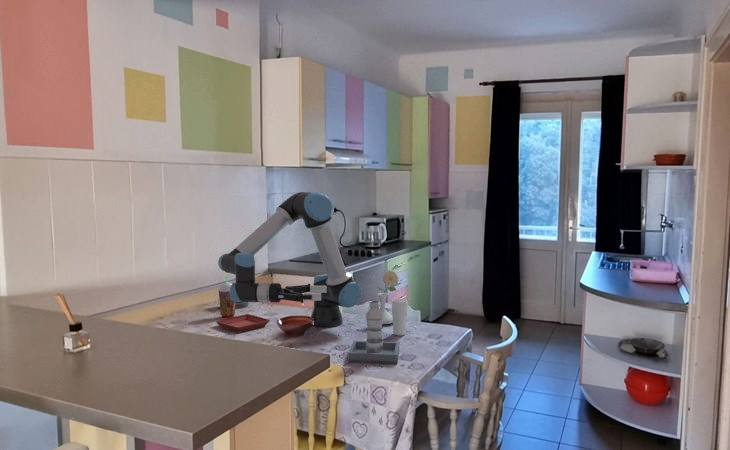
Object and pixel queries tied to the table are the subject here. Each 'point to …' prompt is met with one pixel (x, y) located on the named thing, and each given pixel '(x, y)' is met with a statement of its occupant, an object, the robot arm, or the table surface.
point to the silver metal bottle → (374, 328)
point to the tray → (361, 356)
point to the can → (241, 305)
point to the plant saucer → (242, 322)
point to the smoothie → (226, 300)
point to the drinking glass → (399, 316)
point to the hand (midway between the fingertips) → (323, 292)
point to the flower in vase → (390, 280)
